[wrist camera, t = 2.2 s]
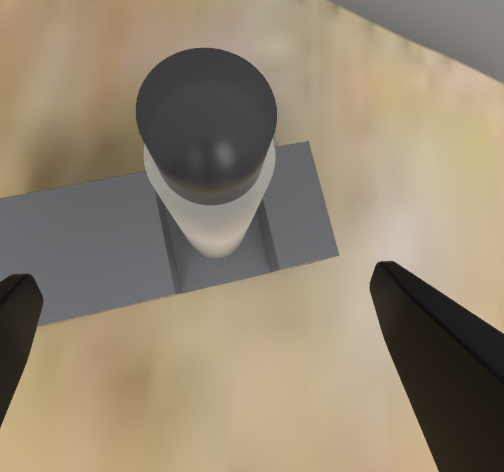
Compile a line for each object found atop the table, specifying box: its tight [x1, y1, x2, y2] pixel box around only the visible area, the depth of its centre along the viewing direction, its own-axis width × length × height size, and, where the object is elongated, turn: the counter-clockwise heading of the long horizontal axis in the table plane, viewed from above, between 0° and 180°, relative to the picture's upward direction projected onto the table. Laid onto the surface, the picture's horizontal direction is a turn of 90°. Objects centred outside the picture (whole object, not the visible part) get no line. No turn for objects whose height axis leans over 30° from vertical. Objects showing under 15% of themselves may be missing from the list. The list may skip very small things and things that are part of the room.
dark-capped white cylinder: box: [136, 48, 277, 259], centre depth 13 cm, size 3×3×13 cm
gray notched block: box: [0, 141, 339, 327], centre depth 17 cm, size 6×24×4 cm, turn 103°
